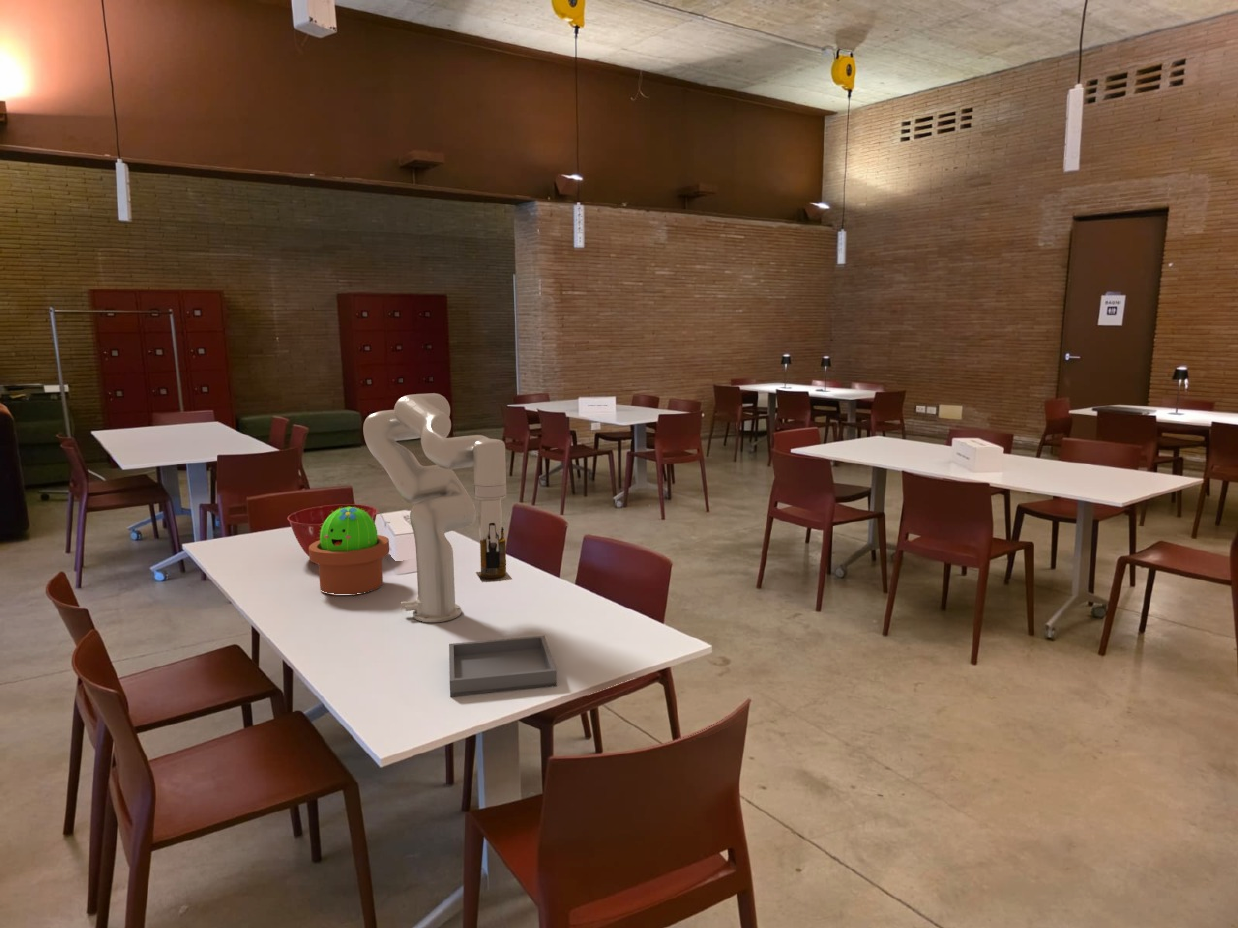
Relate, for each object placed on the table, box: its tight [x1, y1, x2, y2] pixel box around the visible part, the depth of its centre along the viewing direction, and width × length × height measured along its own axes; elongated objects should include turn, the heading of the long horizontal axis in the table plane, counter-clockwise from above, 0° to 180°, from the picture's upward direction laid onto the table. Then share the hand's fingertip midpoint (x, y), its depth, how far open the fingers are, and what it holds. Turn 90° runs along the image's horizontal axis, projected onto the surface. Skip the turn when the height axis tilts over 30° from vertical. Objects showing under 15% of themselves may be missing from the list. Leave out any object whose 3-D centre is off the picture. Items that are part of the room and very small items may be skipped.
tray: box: [448, 635, 558, 698], centre depth 169 cm, size 22×20×4 cm
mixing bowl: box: [287, 503, 379, 557], centre depth 259 cm, size 28×28×16 cm
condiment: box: [475, 526, 513, 583], centre depth 185 cm, size 7×8×12 cm
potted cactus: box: [308, 506, 390, 594], centre depth 227 cm, size 22×22×25 cm
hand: (492, 563), depth 186 cm, fingers closed on condiment, 6 cm apart
